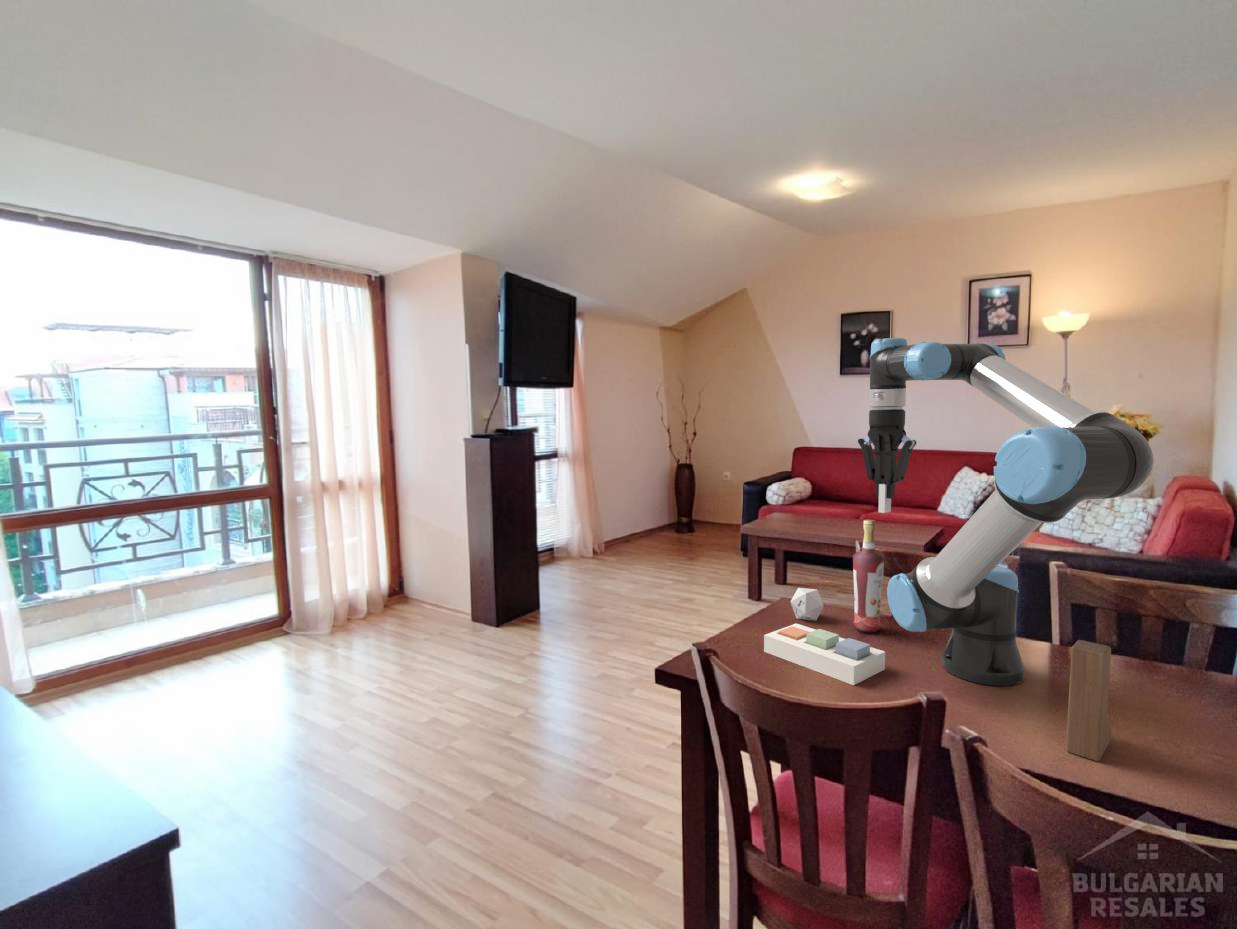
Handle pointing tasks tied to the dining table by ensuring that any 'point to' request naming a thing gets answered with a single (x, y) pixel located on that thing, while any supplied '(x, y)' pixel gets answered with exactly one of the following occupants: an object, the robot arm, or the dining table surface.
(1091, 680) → the wooden block
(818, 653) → the control panel
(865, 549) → the liquor
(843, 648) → the slate button
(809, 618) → the die
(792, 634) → the terracotta button
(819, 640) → the sage button
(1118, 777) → the dining table surface
